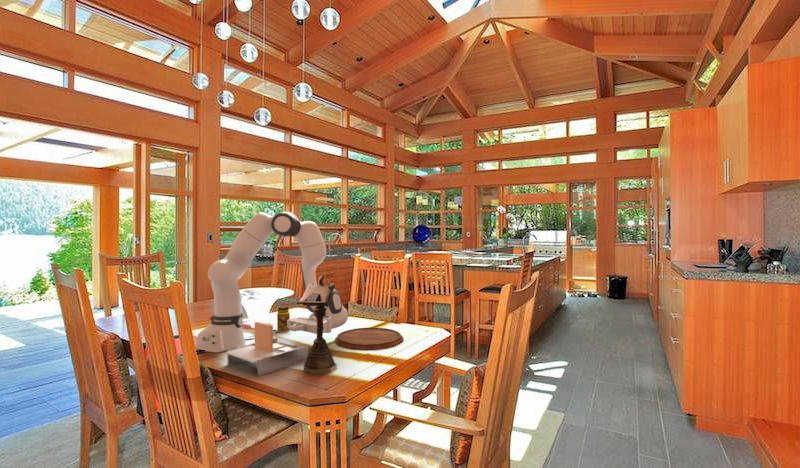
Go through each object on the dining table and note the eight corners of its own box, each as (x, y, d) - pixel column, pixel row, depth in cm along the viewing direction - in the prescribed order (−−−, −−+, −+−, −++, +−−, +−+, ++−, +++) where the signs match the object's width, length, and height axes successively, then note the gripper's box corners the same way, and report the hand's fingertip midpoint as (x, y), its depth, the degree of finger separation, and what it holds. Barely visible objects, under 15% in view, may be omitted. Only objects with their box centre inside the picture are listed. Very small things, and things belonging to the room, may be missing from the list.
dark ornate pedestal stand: (326, 381, 136) (325, 278, 136) (291, 377, 140) (291, 277, 139) (344, 365, 152) (344, 273, 152) (313, 362, 156) (312, 272, 155)
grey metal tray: (276, 350, 171) (275, 337, 171) (308, 359, 159) (307, 345, 159) (227, 364, 154) (227, 349, 154) (259, 376, 141) (258, 360, 141)
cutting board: (397, 352, 169) (397, 346, 169) (324, 349, 174) (324, 343, 174) (407, 333, 201) (407, 328, 201) (346, 330, 206) (346, 326, 206)
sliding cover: (251, 346, 161) (251, 320, 160) (279, 355, 150) (279, 326, 150) (225, 353, 152) (225, 325, 152) (253, 363, 141) (253, 333, 141)
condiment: (285, 332, 201) (285, 308, 201) (270, 331, 204) (270, 307, 204) (293, 329, 208) (293, 306, 208) (279, 327, 211) (279, 305, 211)
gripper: (302, 312, 182) (276, 318, 171) (333, 318, 170) (307, 324, 159) (302, 326, 182) (276, 332, 171) (333, 333, 170) (307, 340, 159)
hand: (291, 328), depth 165 cm, fingers closed
